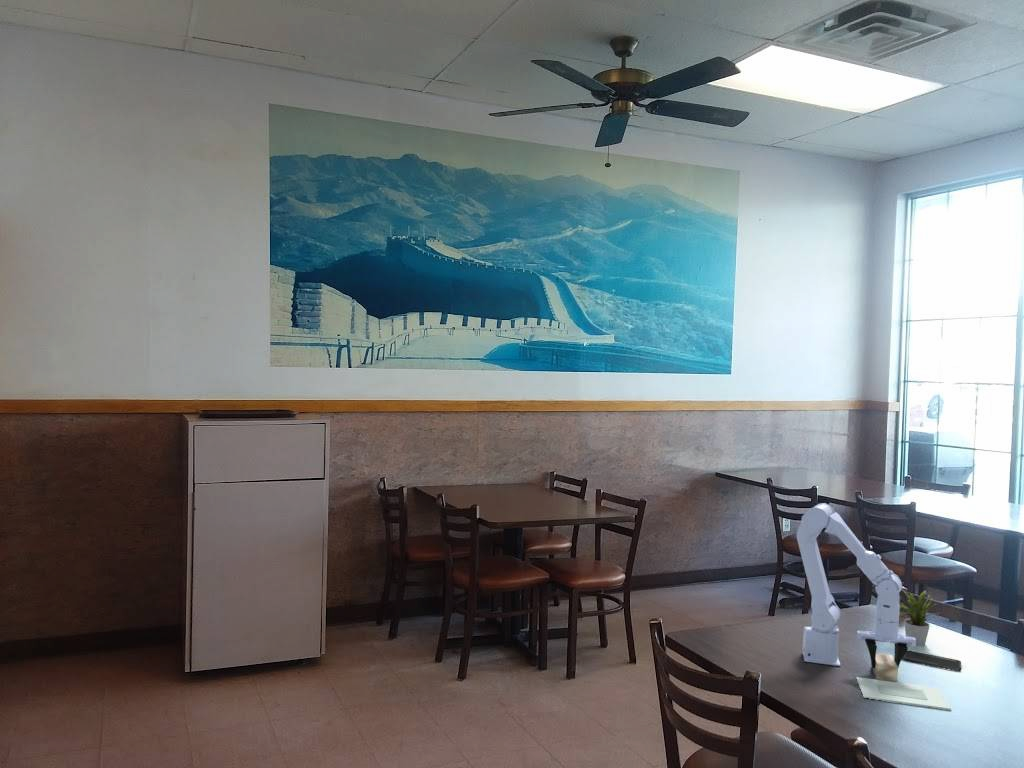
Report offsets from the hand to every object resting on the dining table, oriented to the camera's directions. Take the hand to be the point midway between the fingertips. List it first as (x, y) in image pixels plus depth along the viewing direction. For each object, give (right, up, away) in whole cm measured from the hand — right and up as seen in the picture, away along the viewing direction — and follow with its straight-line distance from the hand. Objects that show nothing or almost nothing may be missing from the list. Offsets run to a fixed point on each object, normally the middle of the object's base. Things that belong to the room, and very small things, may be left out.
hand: (884, 668), depth 221 cm
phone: (+18, -3, +11) cm, 21 cm away
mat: (-2, -2, -13) cm, 13 cm away
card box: (0, -2, 0) cm, 2 cm away
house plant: (+22, -2, +27) cm, 35 cm away
